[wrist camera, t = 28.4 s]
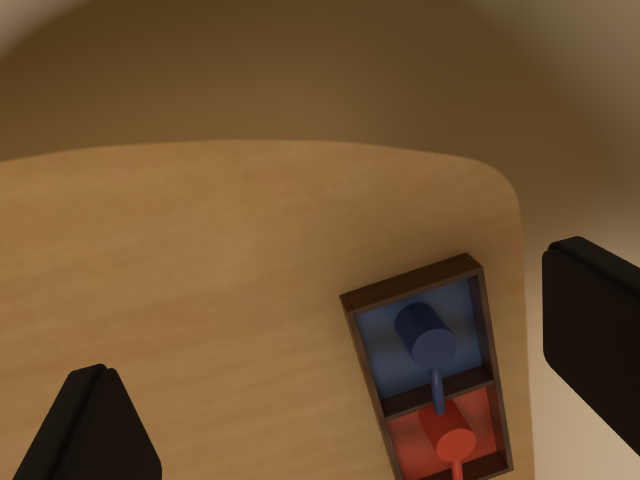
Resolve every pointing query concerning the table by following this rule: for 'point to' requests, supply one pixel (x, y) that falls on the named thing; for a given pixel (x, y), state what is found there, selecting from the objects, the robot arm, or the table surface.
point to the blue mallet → (427, 344)
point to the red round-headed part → (449, 435)
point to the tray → (414, 381)
